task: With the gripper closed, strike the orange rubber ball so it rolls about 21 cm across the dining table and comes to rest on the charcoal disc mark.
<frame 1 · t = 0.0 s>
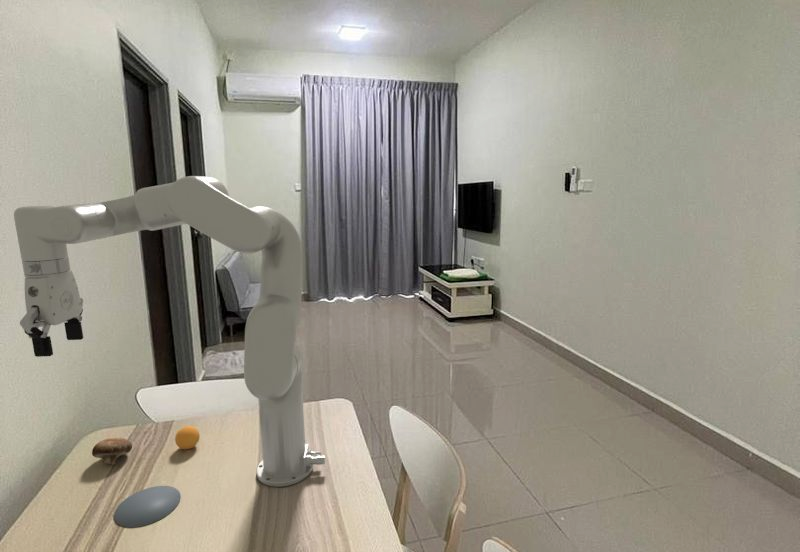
hand: (60, 347, 96), 31 cm above the table, fingers open, 9 cm apart
ball: (187, 437, 114), on the table
mushroom: (113, 461, 109), on the table
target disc: (148, 505, 94), on the table
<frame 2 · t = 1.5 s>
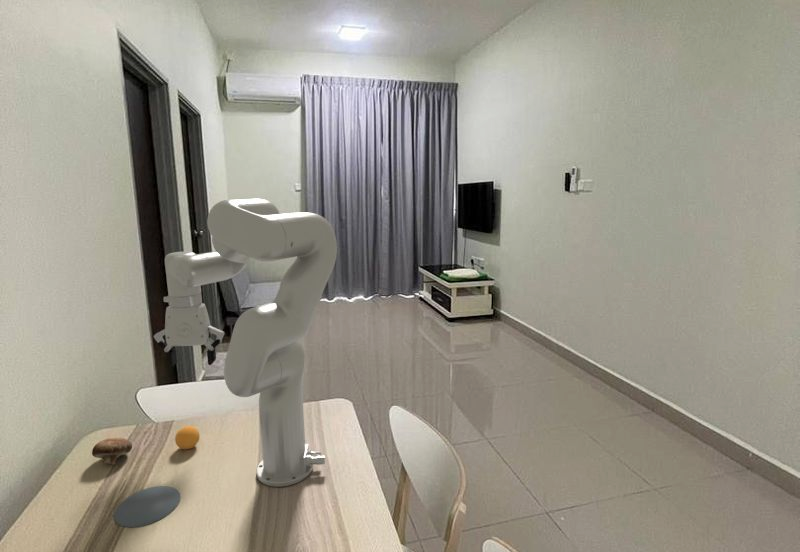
hand: (192, 363, 119), 19 cm above the table, fingers open, 9 cm apart
nothing on the table moved.
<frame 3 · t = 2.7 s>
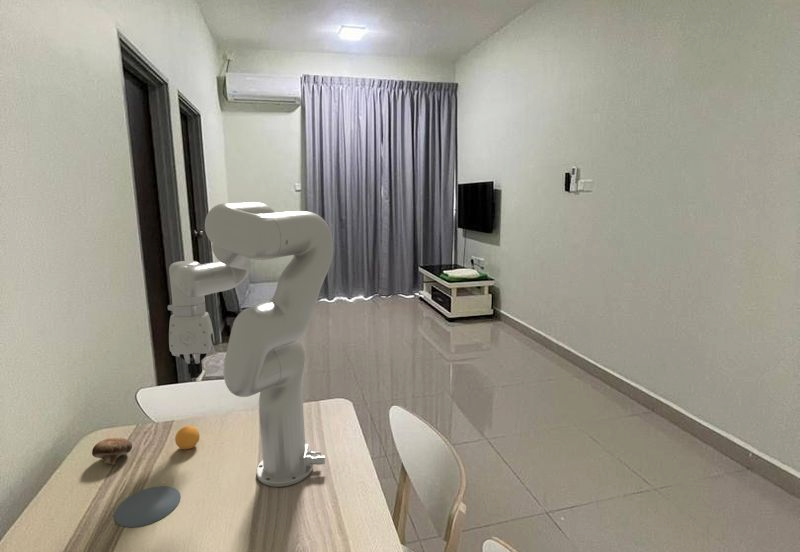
hand: (196, 375, 121), 15 cm above the table, fingers closed
nothing on the table moved.
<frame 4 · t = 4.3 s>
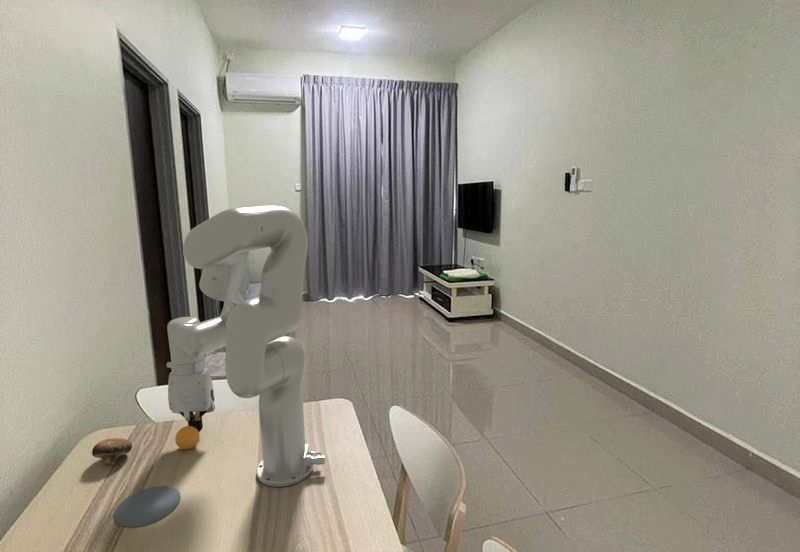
hand: (196, 432, 119), 1 cm above the table, fingers closed
nothing on the table moved.
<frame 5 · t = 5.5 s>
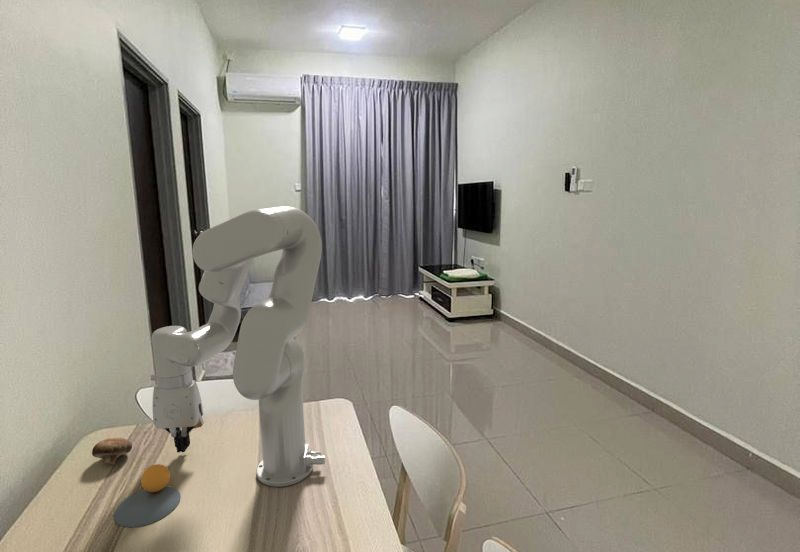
hand: (183, 449, 111), 1 cm above the table, fingers closed
ball: (155, 478, 98), on the table
everything else where it was.
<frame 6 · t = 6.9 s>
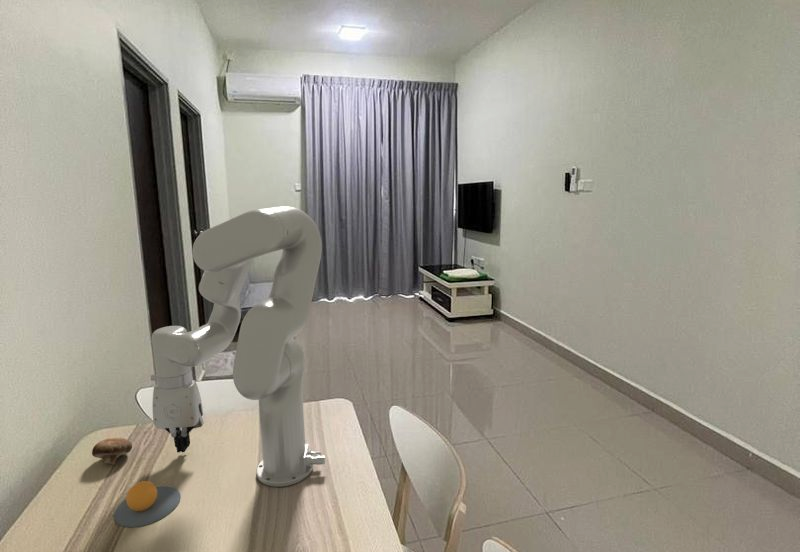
hand: (183, 449, 111), 2 cm above the table, fingers closed
ball: (142, 496, 92), on the table
everything else where it was.
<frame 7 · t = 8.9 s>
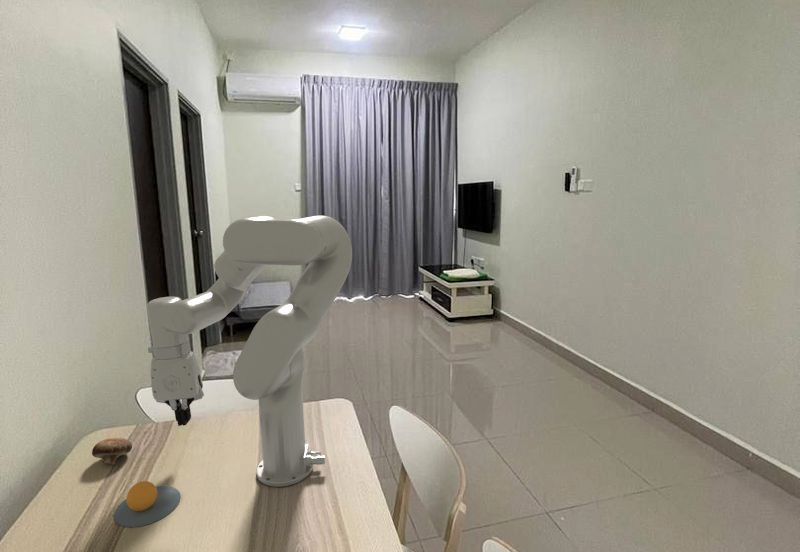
hand: (184, 422, 109), 9 cm above the table, fingers closed
nothing on the table moved.
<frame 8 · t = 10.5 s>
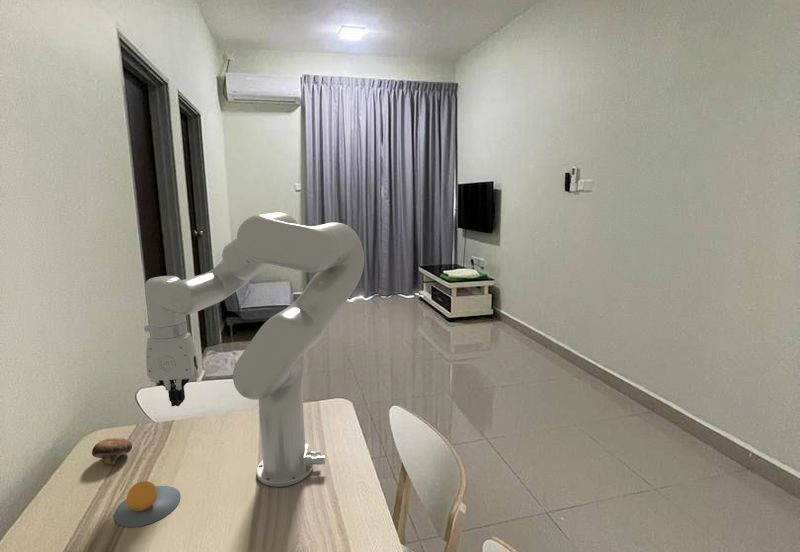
hand: (177, 403, 109), 13 cm above the table, fingers closed
nothing on the table moved.
at the end: ball 0.9 cm from the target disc (horizontally); ball at rest at the end (0.0 cm/s); ball moved 21.6 cm from its start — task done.
